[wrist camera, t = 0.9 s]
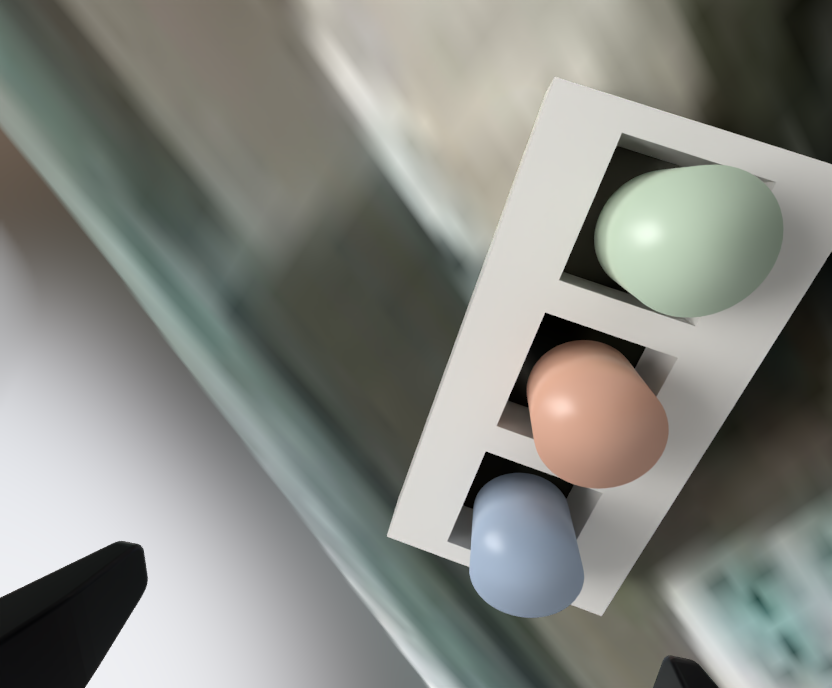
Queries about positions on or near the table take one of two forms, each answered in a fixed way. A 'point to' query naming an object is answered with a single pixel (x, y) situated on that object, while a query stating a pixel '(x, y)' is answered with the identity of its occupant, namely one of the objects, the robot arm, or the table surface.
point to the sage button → (690, 238)
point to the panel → (602, 328)
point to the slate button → (524, 547)
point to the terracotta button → (594, 416)
